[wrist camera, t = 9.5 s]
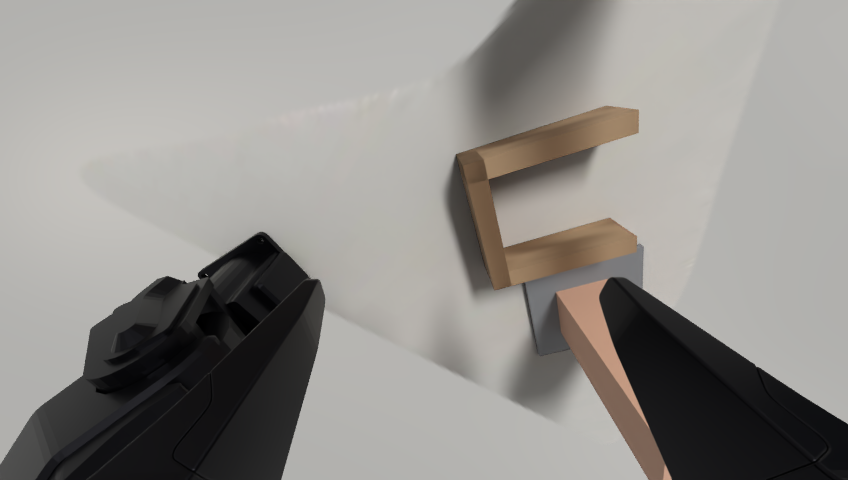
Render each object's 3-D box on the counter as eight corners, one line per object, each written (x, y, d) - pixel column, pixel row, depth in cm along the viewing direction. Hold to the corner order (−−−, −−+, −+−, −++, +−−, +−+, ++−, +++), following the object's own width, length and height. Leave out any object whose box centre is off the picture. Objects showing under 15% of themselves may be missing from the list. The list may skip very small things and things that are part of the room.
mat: (538, 352, 28) (539, 356, 28) (522, 276, 24) (524, 278, 24) (638, 328, 27) (641, 331, 27) (639, 244, 23) (643, 246, 23)
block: (561, 332, 27) (660, 500, 16) (555, 292, 25) (666, 453, 14) (615, 319, 26) (755, 483, 15) (614, 276, 24) (775, 431, 13)
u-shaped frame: (485, 266, 24) (494, 290, 21) (455, 154, 20) (462, 166, 17) (610, 232, 23) (636, 252, 20) (606, 105, 19) (638, 109, 16)
